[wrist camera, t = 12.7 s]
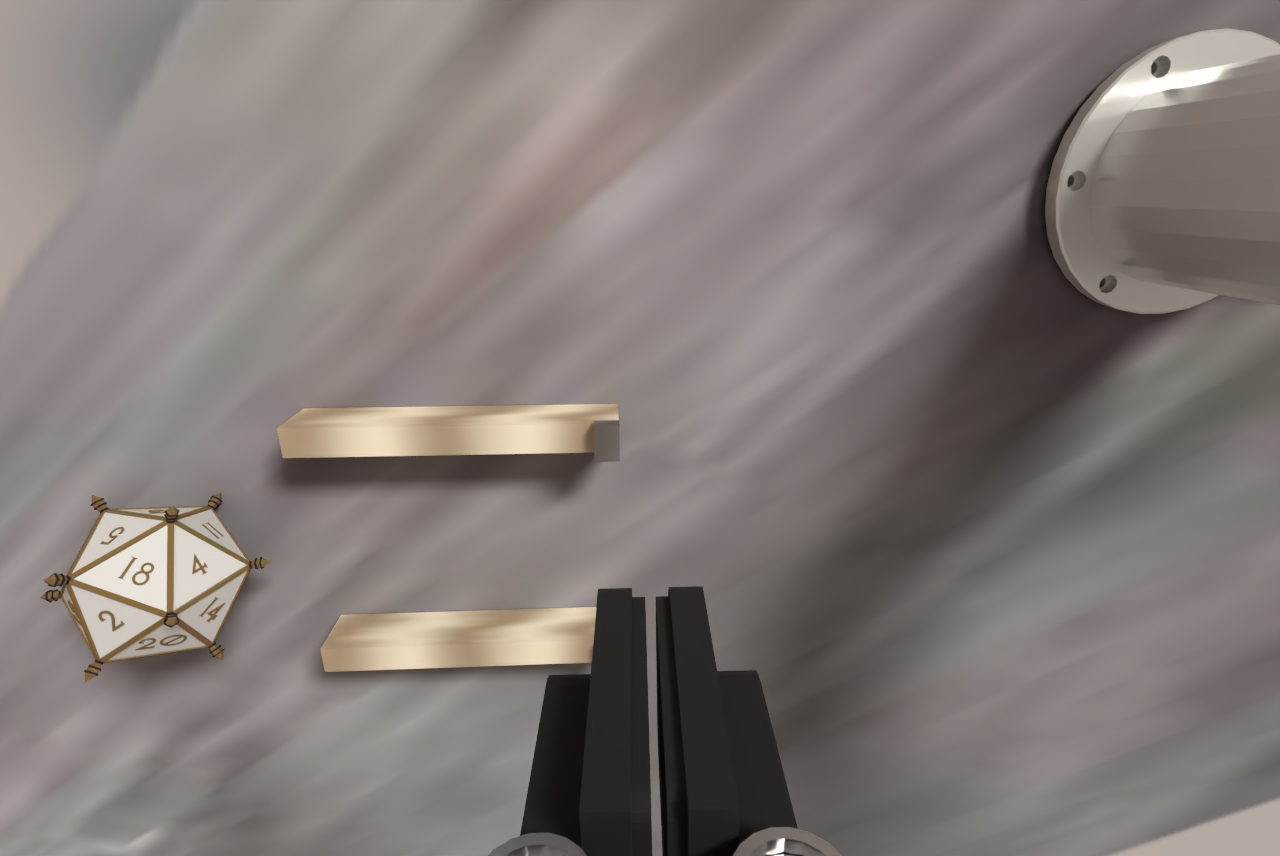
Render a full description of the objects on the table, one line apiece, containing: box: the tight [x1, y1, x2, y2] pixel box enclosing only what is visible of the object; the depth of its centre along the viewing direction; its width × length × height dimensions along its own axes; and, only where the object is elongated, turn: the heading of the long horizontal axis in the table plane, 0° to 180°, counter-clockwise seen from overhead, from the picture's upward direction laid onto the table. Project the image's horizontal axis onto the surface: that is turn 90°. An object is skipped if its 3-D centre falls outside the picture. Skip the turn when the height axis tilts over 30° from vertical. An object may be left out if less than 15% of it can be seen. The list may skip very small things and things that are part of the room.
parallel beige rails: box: [277, 404, 620, 672], centre depth 35 cm, size 16×14×4 cm
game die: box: [40, 493, 270, 682], centre depth 32 cm, size 9×8×10 cm
